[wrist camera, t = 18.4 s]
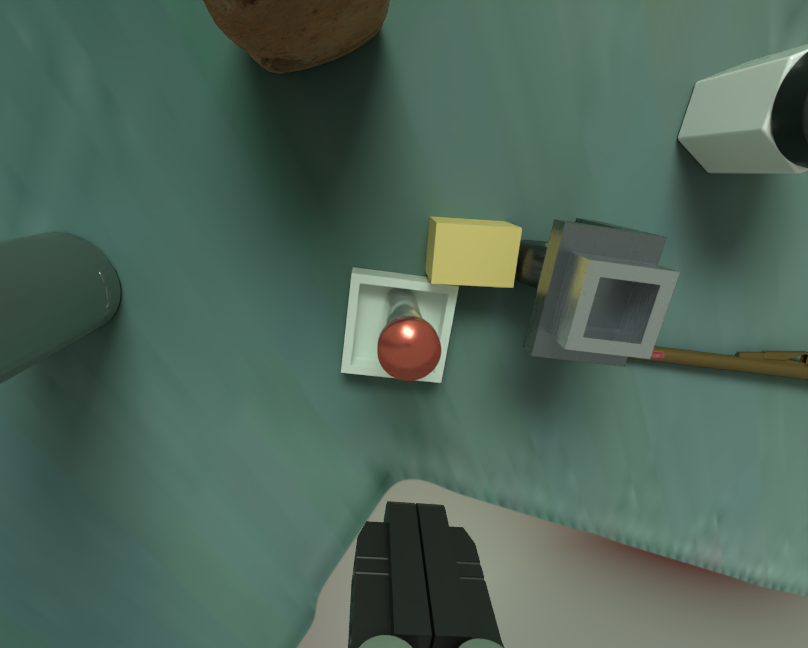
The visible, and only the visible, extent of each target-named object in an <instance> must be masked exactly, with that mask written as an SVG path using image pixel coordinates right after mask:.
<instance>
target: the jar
mask: <svg viewBox="0 0 808 648" xmlns="http://www.w3.org/2000/svg"><path fill="white" fill-rule="evenodd" d="M678 140H679V141H680V142H681V144H682V145H683V146H684V147H685V148H686V149H687V150H688V151H689V152H690V154H691V155H692V156H693V157H694V158H695V159H696V160H697V161H698V162H699V163H700V165H701V166H702V167H703V168H704V169H705V170H706V171H707V172H708V173H757V174H800V173H803V172H805V171H808V44H806V45H803V46H800V47H796V48H793V49H789V50H786V51H782V52H779V53H776V54H772V55H769V56H765V57H762V58H758V59H755V60H751V61H748V62H745V63H743V64H740V65H738V66H735V67H733V68H730V69H728V70H725V71H723V72H720V73H718V74H715V75H713V76H710V77H707V78H705V79H702V80H700V81H698V82H697V83H696V84H695V87H694V90H693V93H692V96H691V99H690V102H689V105H688V108H687V111H686V114H685V117H684V120H683V123H682V126H681V129H680V132H679V135H678Z"/></svg>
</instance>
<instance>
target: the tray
mask: <svg viewBox="0 0 808 648" xmlns="http://www.w3.org/2000/svg"><path fill="white" fill-rule="evenodd" d="M393 288H403V289H410V290H411V291H412V292H413V293H414V294H415V296H416V299H417V303H418V306H419V309H420V313H421V316H422V319H424V320H426V321H427V322H429V323H430V324H431V325H432V326H433V327H434V329H435V330H436V332H437V335H438V337H439V340H440V343H441V357H440V360H439V363H438V365H437V366H436V368H435V369H434V370H433V371H432V372H431V373H430V374H428V375H427V376H425V377H423V378H421V379H418V380H417V381H427V382H436V383H441V381H442V375H443V370H444V364H445V359H446V354H447V348H448V343H449V338H450V332H451V327H452V322H453V316H454V311H455V305H456V300H457V295H458V289H459V286H458V285H448V284H431V282H430V280H429V278H428V277H426V276H418V275H410V274H402V273H394V272H387V271H379V270H371V269H363V268H355V267H353V269H352V274H351V284H350V293H349V302H348V312H347V321H346V330H345V340H344V349H343V358H342V368H341V373H350V374H359V375H369V376H378V377H388V378H394V377H392V376H390V375H389V374H388V373H387V372H386V371H385V370H384V369H383V368H382V366H381V365H380V363H379V360H378V355H377V342H378V337H379V335H380V333H381V331H382V329H383V328H384V327H385V326H386V315H385V298H386V295H387V294H388V292H389V291H390V290H392V289H393Z"/></svg>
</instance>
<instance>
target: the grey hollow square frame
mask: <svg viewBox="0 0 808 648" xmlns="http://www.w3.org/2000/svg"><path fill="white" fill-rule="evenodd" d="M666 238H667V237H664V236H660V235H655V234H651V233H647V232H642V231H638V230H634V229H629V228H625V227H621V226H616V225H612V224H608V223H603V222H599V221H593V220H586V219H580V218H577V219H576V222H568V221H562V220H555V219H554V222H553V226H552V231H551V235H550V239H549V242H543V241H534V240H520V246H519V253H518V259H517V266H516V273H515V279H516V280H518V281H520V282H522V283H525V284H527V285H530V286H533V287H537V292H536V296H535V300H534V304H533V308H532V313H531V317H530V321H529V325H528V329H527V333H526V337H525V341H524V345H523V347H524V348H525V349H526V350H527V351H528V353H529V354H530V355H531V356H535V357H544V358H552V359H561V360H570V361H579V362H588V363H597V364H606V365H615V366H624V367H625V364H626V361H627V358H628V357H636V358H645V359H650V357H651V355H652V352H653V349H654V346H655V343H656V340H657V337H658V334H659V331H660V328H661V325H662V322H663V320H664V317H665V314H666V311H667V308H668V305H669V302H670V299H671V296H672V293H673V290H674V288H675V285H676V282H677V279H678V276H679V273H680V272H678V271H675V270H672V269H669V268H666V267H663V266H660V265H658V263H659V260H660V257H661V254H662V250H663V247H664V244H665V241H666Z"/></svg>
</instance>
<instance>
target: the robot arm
mask: <svg viewBox="0 0 808 648" xmlns="http://www.w3.org/2000/svg"><path fill="white" fill-rule="evenodd" d="M120 294H121V289H120V284H119V279H118V277H117V274H116V272H115V269H114V268H113V266H112V265H111V263H110V261H109V260H108V259H107V258H106V257H105V256H104V254H103V253H102V252H101V251H100V250H98V249H97V248H96V247H94V246H93V245H92V244H90V243H89V242H87V241H85V240H83V239H81V238H79V237H76V236H73V235H70V234H65V233H57V232H53V233H43V234H37V235H32V236H27V237H22V238H16V239H11V240H5V241H0V384H1V383H3V382H5V381H6V380H8V379H10V378H12V377H13V376H15V375H17V374H19V373H20V372H22V371H24V370H26V369H27V368H29V367H31V366H33V365H34V364H36V363H38V362H40V361H41V360H43V359H45V358H47V357H48V356H50V355H52V354H54V353H55V352H57V351H59V350H61V349H63V348H64V347H66V346H68V345H70V344H71V343H73V342H75V341H77V340H78V339H80V338H82V337H84V336H85V335H87V334H89V333H90V332H92V331H94V330H96V329H97V328H99V327H101V326H103V325H104V324H106V323H107V322H108V321H109V320H110V319H111V318H112V317H113V316H114V314H115V312H116V311H117V309H118V306H119V302H120ZM348 641H349V642H348V648H504V646H503V643H502V641H501V637H500V634H499V630H498V627H497V623H496V619H495V615H494V612H493V608H492V605H491V601H490V597H489V594H488V590H487V586H486V582H485V581H484V575H483V571H482V568H481V566H480V560H479V556H478V553H477V549H476V545H475V543H474V542H473V540H472V539H471V538H470V536H469V535H468V533H467V532H466V531H465V529H464V528H463V527H449V525H448V520H447V515H446V511H445V507H444V505H436V504H421V503H416V504H415V503H405V502H389V501H388V502H387V504H386V510H385V516H384V522H383V523H382V522H368V521H366V523H365V525H364V527H363V528H362V530H361V532H360V533H359V535H358V538H357V545H356V553H355V561H354V568H353V576H352V584H351V604H350V623H349V640H348Z"/></svg>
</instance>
